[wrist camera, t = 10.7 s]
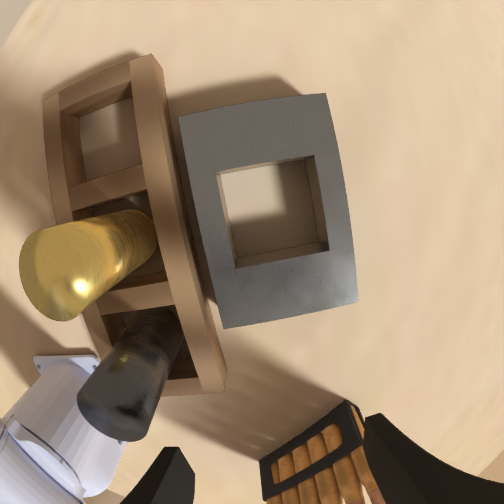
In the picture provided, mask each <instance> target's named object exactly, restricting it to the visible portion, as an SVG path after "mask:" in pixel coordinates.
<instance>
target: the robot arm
mask: <svg viewBox="0 0 504 504" xmlns="http://www.w3.org/2000/svg"><path fill="white" fill-rule="evenodd" d="M33 362H34V364H35V366H36V368H37V370H38V372H39V374H40V377H39V378H38V379H37V380H36V381H35V383H34V384H33V385H32V386H31V387H30V388H29V389H28V390H27V391H26V392H25V393H24V394H23V396H22V397H21V398H20V399H19V400H18V401H17V402H16V403H15V404H14V406H13V407H12V408H11V409H10V410H9V411H8V412H7V413H6V415H5V416H4V417H3V418H2V419H1V418H0V504H86V503H85V502H84V501H83V500H82V499H83V497H92V496H95V495H98V494H100V493H101V492H102V491H104V490H105V489H106V488H107V487H108V486H109V485H110V483H111V482H112V480H113V477H114V475H115V472H116V470H117V467H118V465H119V462H120V460H121V457H122V455H123V452H124V450H125V447H126V445H127V443H128V442H126V441H120V440H116V439H113V438H110V437H108V436H106V435H104V434H102V433H101V432H99V431H98V430H96V429H95V428H94V427H93V426H91V425H90V424H89V423H88V422H87V421H86V419H85V418H84V417H83V415H82V414H81V412H80V410H79V408H78V405H77V394H78V392H79V390H80V389H81V388H82V386H83V385H84V384H85V382H86V381H87V380H88V378H89V377H90V375H91V374H92V373H93V371H94V370H95V369H96V368H97V367H95V366H94V365H96V366H98V365H99V364H100V362H99V359H98V358H97V357H96V356H95V355H61V356H35V357H33ZM363 450H364V454H365V457H366V460H367V463H368V466H369V469H370V471H371V473H372V475H373V478H374V480H375V482H376V484H377V486H378V488H379V490H380V492H381V494H382V497H383V499H384V501H385V503H386V504H504V483H498V482H494V481H490V480H486V479H483V478H480V477H477V476H474V475H471V474H468V473H465V472H463V471H461V470H459V469H456V468H454V467H452V466H450V465H448V464H446V463H445V462H443V461H441V460H439V459H438V458H436V457H434V456H433V455H431V454H430V453H428V452H427V451H425V450H424V449H423V448H421V447H420V446H418V445H417V444H416V443H415V442H413V441H412V440H411V439H409V438H408V437H407V436H406V435H404V434H403V433H402V432H401V431H400V430H399V429H398V428H396V427H395V426H394V425H393V424H392V423H391V422H390V421H389V420H388V419H387V418H386V417H385V416H384V415H383V414H381V413H378V414H375V415H372V416H369V417H365V427H364V438H363ZM194 492H195V473H194V471H193V470H192V468H191V467H190V465H189V463H188V462H187V460H186V458H185V457H184V455H183V453H182V452H181V450H180V448H179V447H164V448H163V449H162V451H161V452H160V454H159V455H158V456H157V458H156V459H155V461H154V462H153V464H152V465H151V466H150V468H149V469H148V471H147V472H146V473H145V475H144V476H143V477H142V478H141V480H140V481H139V482H138V484H137V485H136V486H135V487H134V488H133V490H132V491H131V492H130V493H129V494H128V495H127V496H126V497H125V499H124V500H123V501H122V502H121V503H120V504H193V500H194Z"/></svg>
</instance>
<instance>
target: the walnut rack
mask: <svg viewBox="0 0 504 504" xmlns="http://www.w3.org/2000/svg"><path fill="white" fill-rule="evenodd" d="M130 97H133V104H134V112H135V120H136V127H137V134H138V140H139V147H140V153H141V159H142V164H140V165H136V166H133V167H130V168H127V169H123V170H120V171H117V172H114V173H111V174H108V175H105V176H102V177H99V178H96V179H93V180H90V181H88V182H86V178H85V172H84V165H83V158H82V150H81V141H80V131H79V120H78V118H79V117H82V116H84V115H86V114H89V113H91V112H93V111H96V110H98V109H100V108H103V107H105V106H108V105H111V104H113V103H116V102H119V101H121V100H124V99H127V98H130ZM43 122H44V139H45V151H46V161H47V170H48V177H49V184H50V191H51V197H52V203H53V208H54V213H55V218H56V223H57V225H61V224H65V223H70V222H74V221H78V220H82V219H87V218H91V217H93V216H92V211H91V208H93V207H97V206H100V205H103V204H106V203H110V202H113V201H116V200H120V199H123V198H127V197H130V196H134V195H138V194H141V193H145V192H148V197H149V202H150V206H151V211H152V216H153V220H154V225H155V229H156V234H157V238H158V242H159V246H160V250H161V254H162V258H163V262H164V266H165V270H166V272H161V273H156V274H150V275H145V276H140V277H134V278H129V279H124V280H121V281H119V282H118V283H117V284H116V285H114V286H113V287H112V288H111V289H109V290H108V291H107V292H106V293H104V294H103V295H102V296H101V297H99V298H98V299H97V300H96V301H94V302H93V303H92V304H91V305H90V306H88V307H87V308H86V309H85V310H83V311H82V314H83V317H84V319H85V322H86V325H87V327H88V330H89V332H90V335H91V337H92V340H93V342H94V345H95V347H96V349H97V352H98V354H99V356H100V358H101V361H102V360H103V358H104V357H105V356H106V354H107V353H108V352H109V351H110V349H111V348H112V347H113V345H114V344H115V343H116V342H117V340H118V339H119V338H120V336H121V335H122V334H123V333H124V331H125V327H124V324H123V322H122V319H121V316H120V312H127V311H134V310H141V309H148V308H155V307H161V306H168V305H174V304H175V306H176V309H177V313H178V316H179V319H180V323H181V326H182V329H183V332H184V336H185V339H186V342H187V345H188V348H189V351H190V354H191V357H192V359H183V360H174V363H173V365H172V368H171V371H170V373H169V376H168V378H167V381H166V384H165V386H164V389H163V391H162V394H161V397H163V396H180V395H193V394H204V393H214V392H223V391H225V387H226V376H227V368H226V365H225V361H224V358H223V354H222V351H221V347H220V344H219V340H218V336H217V333H216V329H215V325H214V322H213V318H212V314H211V310H210V306H209V303H208V299H207V295H206V291H205V287H204V283H203V279H202V275H201V270H200V266H199V262H198V258H197V254H196V249H195V245H194V240H193V236H192V232H191V227H190V222H189V218H188V213H187V208H186V203H185V199H184V194H183V189H182V184H181V179H180V173H179V168H178V163H177V157H176V152H175V146H174V140H173V135H172V129H171V123H170V116H169V110H168V104H167V97H166V90H165V83H164V76H163V69H162V67H161V66H160V64H159V63H158V62H157V60H156V59H155V58H154V56H153V55H152V53H151V54H148V55H145V56H142V57H139V58H136V59H134V60H131V61H128V62H125V63H123V64H120V65H117V66H115V67H112V68H110V69H107V70H105V71H103V72H100V73H98V74H96V75H93V76H91V77H89V78H87V79H85V80H82V81H80V82H78V83H76V84H74V85H72V86H70V87H68V88H66V89H64V90H62V91H60V92H58V93H57V94H55V95H53V96H51V97H49V98H47V99H46V100H44V101H43Z"/></svg>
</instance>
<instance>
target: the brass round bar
mask: <svg viewBox="0 0 504 504" xmlns="http://www.w3.org/2000/svg"><path fill="white" fill-rule="evenodd" d="M157 241H158V238H157V234H156V229H155V225H154V223H153V221H152V220H151V219H150V217H149V216H147V215H146V214H145V213H143V212H141V211H139V210H134V209H129V210H124V211H119V212H114V213H109V214H105V215H100V216H95V217H91V218H87V219H82V220H78V221H74V222H70V223H65V224H61V225H57V226H53V227H50V228H46V229H42V230H38V231H36V232H34V233H32V234H31V235H30V236H29V237H28V238H27V239H26V241H25V242H24V244H23V246H22V249H21V253H20V258H19V272H20V278H21V282H22V285H23V288H24V290H25V292H26V295H27V296H28V298H29V300H30V301H31V303H32V304H33V305H34V306H35V308H36V309H37V310H38V311H39V312H41V313H42V314H43V315H45V316H46V317H48V318H50V319H52V320H55V321H69V320H71V319H73V318H75V317H76V316H77V315H79V314H80V313H81V312H82V311H83V310H85V309H86V308H87V307H88V306H90V305H91V304H92V303H93V302H94V301H96V300H97V299H98V298H99V297H101V296H102V295H103V294H104V293H106V292H107V291H108V290H109V289H111V288H112V287H113V286H114V285H116V284H117V283H118V282H119V281H121V280H122V279H123V278H125V277H126V276H127V275H128V274H130V273H131V272H132V271H134V270H135V269H136V268H138V267H139V266H140V265H141V264H143V263H144V262H145V261H147V260H148V259H149V258H150V257H151V256H152V255H153V253H154V252H155V249H156V247H157Z"/></svg>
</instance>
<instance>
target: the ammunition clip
mask: <svg viewBox="0 0 504 504" xmlns="http://www.w3.org/2000/svg"><path fill="white" fill-rule="evenodd" d="M364 427H365V422H364V420H363V417H362V415H361V412H360V410H359V408H358V407H357V406H355V405H354V404H352V403H351V402H349V401H348V400H346V401H344V402H342V403H341V404H340V405H339V406H337V407H336V408H335V409H334V410H332V411H331V412H330V413H328V414H327V415H326V416H324V417H323V418H322V419H321V420H319V421H318V422H316V423H315V424H314V425H312V426H311V427H310V428H308V429H307V430H305V431H304V432H303V433H301V434H300V435H298V436H297V437H295V438H294V439H292V440H291V441H289V442H288V443H286V444H285V445H283V446H282V447H280V448H279V449H277V450H275V451H274V452H272V453H271V454H269V455H267V456H266V457H264V458H262V459H261V460H259V465H260V476H261V486H262V497H263V501H266V502H267V504H343V498H344V500H345V503H346V504H365V499H364V496H363V491H362V484H363V485H364V487H365V489H366V491H367V493H368V495H369V497H370V500H371V502H372V504H386V503H385V501H384V499H383V497H382V494H381V492H380V490H379V488H378V486H377V484H376V482H375V480H374V478H373V475H372V473H371V471H370V469H369V466H368V463H367V460H366V457H365V454H364V450H363V438H364ZM342 496H343V498H342Z"/></svg>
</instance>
